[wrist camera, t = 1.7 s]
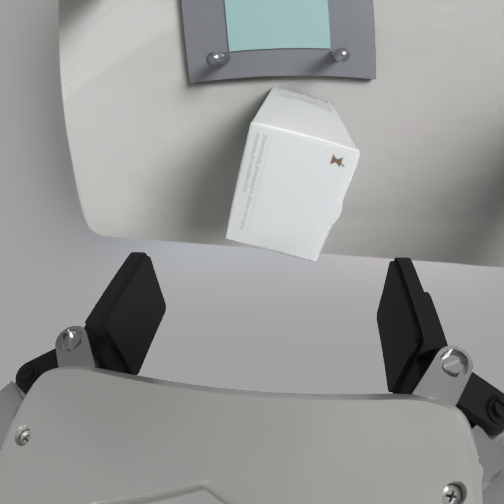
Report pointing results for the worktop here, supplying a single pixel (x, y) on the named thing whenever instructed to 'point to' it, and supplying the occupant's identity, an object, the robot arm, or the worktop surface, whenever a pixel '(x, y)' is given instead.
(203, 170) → the worktop surface
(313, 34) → the grey base plate
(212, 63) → the guide pins
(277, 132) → the skincare box
